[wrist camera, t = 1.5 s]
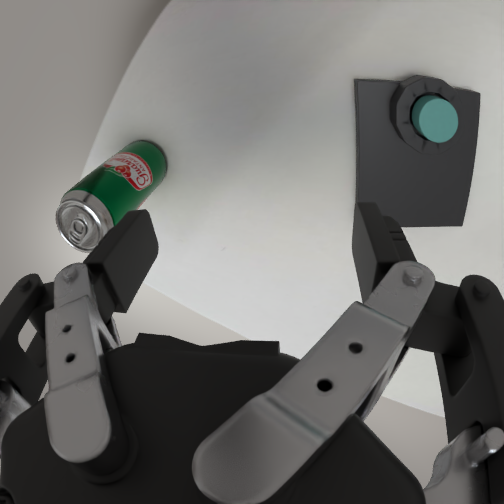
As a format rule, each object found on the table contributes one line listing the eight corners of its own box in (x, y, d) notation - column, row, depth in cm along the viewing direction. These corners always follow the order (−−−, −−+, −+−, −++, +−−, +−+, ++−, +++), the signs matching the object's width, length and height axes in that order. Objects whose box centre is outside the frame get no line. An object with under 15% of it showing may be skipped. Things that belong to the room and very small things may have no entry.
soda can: (177, 157, 28) (118, 223, 18) (154, 194, 31) (97, 268, 21) (135, 129, 27) (59, 182, 17) (115, 168, 29) (46, 232, 20)
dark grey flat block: (353, 70, 21) (361, 72, 19) (474, 83, 19) (491, 88, 17) (354, 222, 30) (359, 239, 27) (458, 220, 28) (469, 236, 25)
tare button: (411, 93, 19) (419, 96, 18) (449, 97, 19) (459, 101, 17) (410, 135, 21) (418, 141, 20) (447, 138, 21) (456, 144, 19)
